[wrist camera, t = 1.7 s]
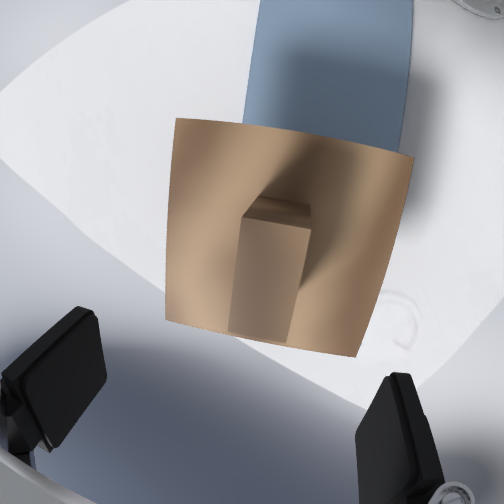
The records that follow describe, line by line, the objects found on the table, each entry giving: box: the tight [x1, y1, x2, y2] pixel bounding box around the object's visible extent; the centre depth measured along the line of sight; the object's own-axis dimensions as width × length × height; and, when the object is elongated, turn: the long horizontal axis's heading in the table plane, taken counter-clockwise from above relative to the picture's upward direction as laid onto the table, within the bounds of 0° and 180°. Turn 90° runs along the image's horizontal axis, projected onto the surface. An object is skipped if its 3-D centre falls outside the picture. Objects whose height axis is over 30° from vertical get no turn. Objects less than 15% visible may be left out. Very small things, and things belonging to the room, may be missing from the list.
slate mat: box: [242, 0, 413, 153], centre depth 23 cm, size 14×16×1 cm
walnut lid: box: [165, 118, 414, 358], centre depth 17 cm, size 14×14×6 cm
